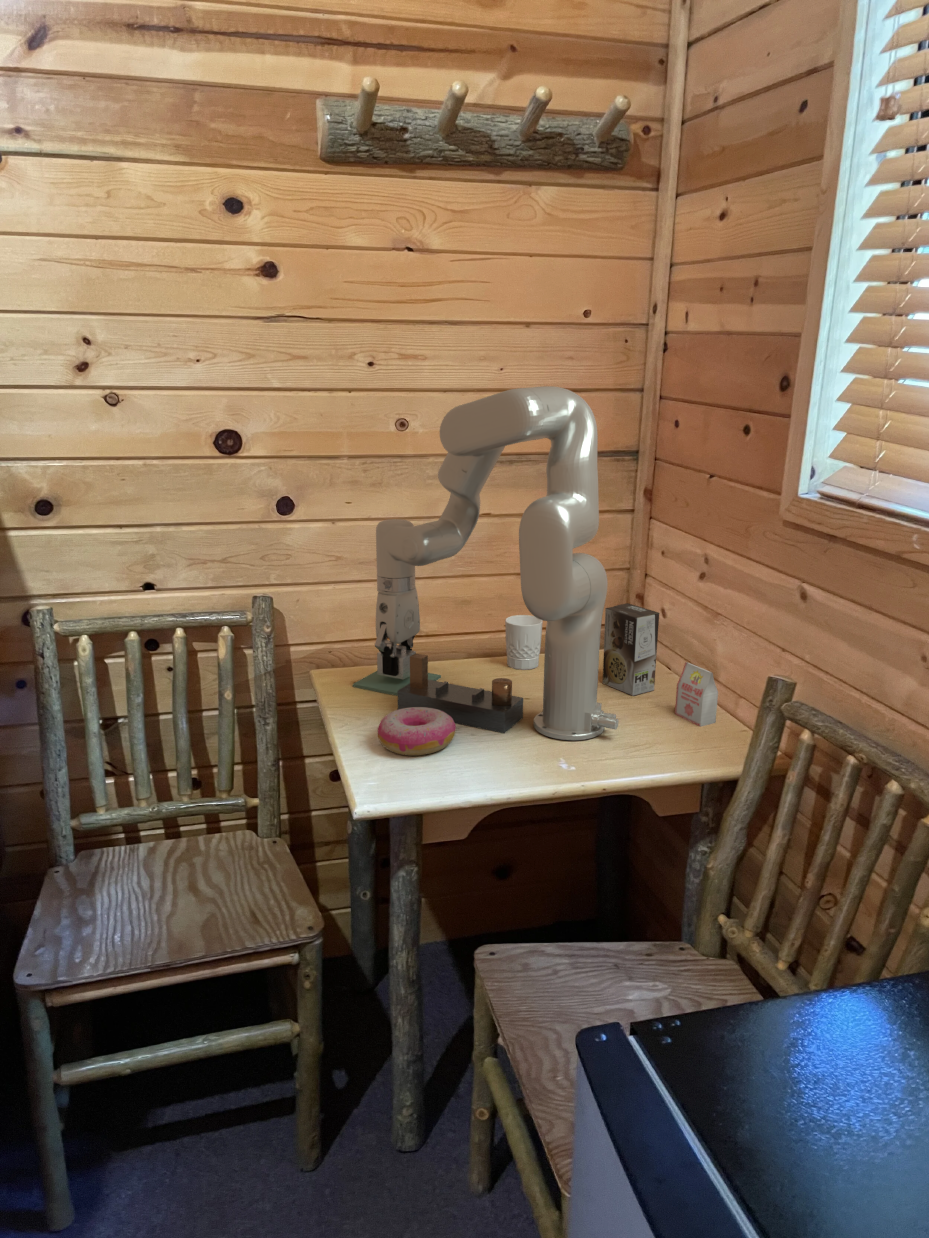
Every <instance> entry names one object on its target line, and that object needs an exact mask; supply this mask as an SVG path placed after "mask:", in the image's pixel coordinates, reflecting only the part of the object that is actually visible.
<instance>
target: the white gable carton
mask: <svg viewBox="0 0 929 1238" xmlns="http://www.w3.org/2000/svg"><path fill="white" fill-rule="evenodd" d="M675 695H676V696H675V704H674V706H675V707H674V715H676V716H678V717H680V718H682V719H684V720H686V721H688V722H689V723H692V724H694V725H696V726H698V727H705V726H707V725H709V726H710V725H713V724H716V719H717V709H718V699H719V691H718V688H717V685H716V682H715V679H714V673H713V672H712V671H709V670H707V669H705V668H703V667H700V666H697V665H695V664H693V663H691V662H688V661H687V662H686V661H685V663H684V665H683V669H682V672H681V674H680V676H679V679H678V681H677V683H676V693H675Z"/></svg>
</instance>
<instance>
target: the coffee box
mask: <svg viewBox="0 0 929 1238" xmlns="http://www.w3.org/2000/svg"><path fill="white" fill-rule="evenodd" d="M604 612H605V613H604V614H605V615H604V633H603V634H604V638H603V640H604V641H603V659H602V660H603V661H602V662H603V664H602V666H603V667H602V683H601V684H603V685H606V686H608V687H611V688H614V689H616V690H618V691H621V692H623V693H625V694H628V695H631V696H632V697H633V696H637V695H641V694H646V693H648V692H652V691H654V690H655V683H656V667H657V653H658V637H659V627H660V626H659V623H660V621H659V620H660V612H659V611H655V610H651V609H649V608H645V607H641V606H638V605H636V604H635V605H634V604H631V603H628V602H627V603H622V604H617V605H613V606H609V607H605V611H604Z"/></svg>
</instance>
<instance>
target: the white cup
mask: <svg viewBox="0 0 929 1238" xmlns="http://www.w3.org/2000/svg"><path fill="white" fill-rule="evenodd" d="M543 623H544V622H543V620H540V619H538V618H536V617H535V616H534V615H528V614H527V615H526V614H518V615H517V614H516V615H511V616H508V617H506V618H505V625H504V626H505V648H506V649H505V650H506V665H507V666H508V667H509V668H512V669H513V670H514V669H515V670H520V671H524V670H525V671H526V670H533V669H535V668H538V667H539V662H540V660H539V659H540V655H541V646H542V634H543Z"/></svg>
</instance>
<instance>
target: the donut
mask: <svg viewBox="0 0 929 1238" xmlns="http://www.w3.org/2000/svg"><path fill="white" fill-rule="evenodd" d="M456 728H457V727H456V723H454V721H453V719H452V718H451V716H449V715H448V714H446V713H445V712H443V711H441V710H438V709H433V708H426V707H410V708H403V709H399V710H398V709H396V710H393V711H391V712H389V713H388V714H386V715H385V716H384V717H382V718H381V720H380V722H379V725H378V727H377V738H378V740H379V742H380V744H381V745H382V746H383V747H384V748H385V749H386V750H388V751H390V752H392V753H394V754H398V755H402V756H408V757H409V756H410V757H411V756H424V755H430V754H433V753H436V752H438V751H441V750H443V749H444V748H446V747H447V746H449V745H450V744H451V743H452V741H453V740H454V737H455V735H456V733H457V732H456Z"/></svg>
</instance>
